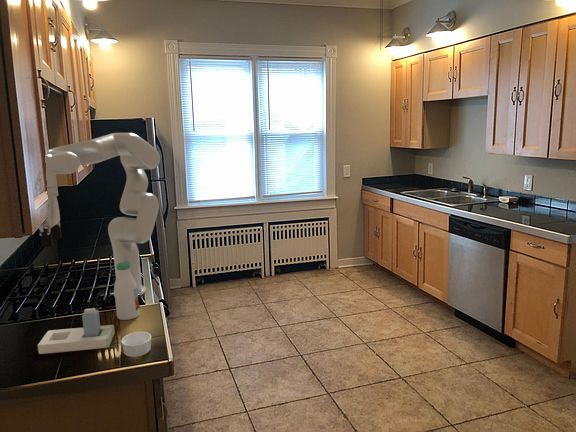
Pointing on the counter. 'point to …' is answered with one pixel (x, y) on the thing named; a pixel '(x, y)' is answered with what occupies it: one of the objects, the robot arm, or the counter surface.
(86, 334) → the plug
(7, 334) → the counter surface
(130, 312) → the milk bottle
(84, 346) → the socket panel
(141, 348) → the ramekin
